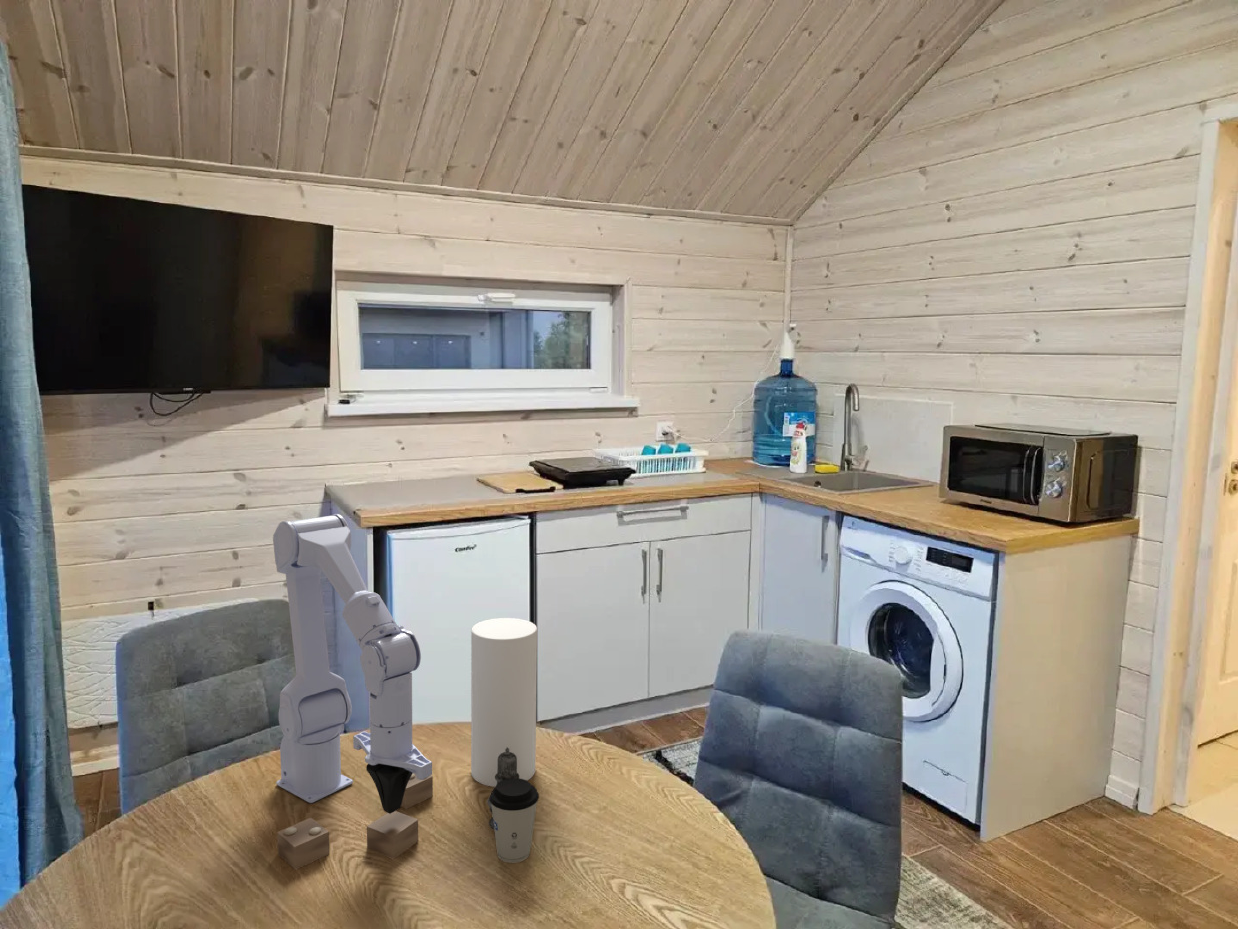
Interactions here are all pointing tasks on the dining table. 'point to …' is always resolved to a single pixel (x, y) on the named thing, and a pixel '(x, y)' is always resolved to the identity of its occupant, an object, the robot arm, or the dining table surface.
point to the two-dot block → (303, 843)
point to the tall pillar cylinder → (503, 696)
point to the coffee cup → (513, 818)
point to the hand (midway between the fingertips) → (392, 809)
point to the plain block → (392, 834)
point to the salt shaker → (504, 772)
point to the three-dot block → (417, 790)
